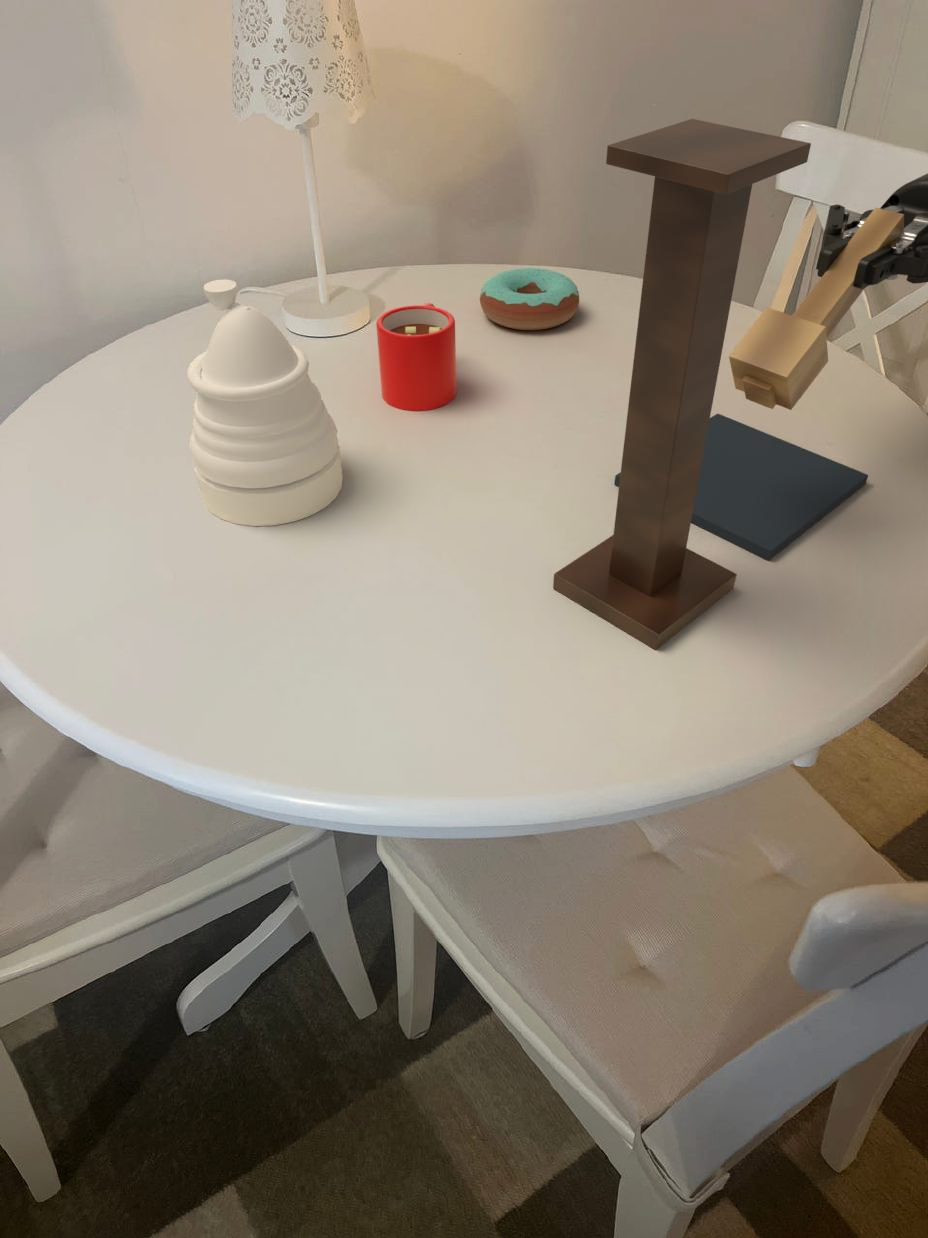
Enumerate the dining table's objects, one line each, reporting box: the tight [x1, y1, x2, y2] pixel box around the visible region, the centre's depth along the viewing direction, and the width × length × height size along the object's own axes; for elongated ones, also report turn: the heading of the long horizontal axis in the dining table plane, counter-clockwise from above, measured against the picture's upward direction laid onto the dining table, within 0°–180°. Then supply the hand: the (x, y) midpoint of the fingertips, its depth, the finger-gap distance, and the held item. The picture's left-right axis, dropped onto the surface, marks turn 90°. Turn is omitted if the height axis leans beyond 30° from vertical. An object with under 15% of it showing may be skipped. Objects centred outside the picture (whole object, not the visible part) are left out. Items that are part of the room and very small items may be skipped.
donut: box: [479, 267, 580, 331], centre depth 111 cm, size 12×12×4 cm
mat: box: [613, 413, 869, 562], centre depth 83 cm, size 16×16×1 cm
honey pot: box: [186, 279, 344, 527], centre depth 78 cm, size 13×13×18 cm
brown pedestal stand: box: [552, 118, 812, 651], centre depth 62 cm, size 10×10×32 cm
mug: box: [375, 302, 457, 412], centre depth 96 cm, size 8×12×8 cm, turn 172°
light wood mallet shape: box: [728, 207, 904, 411], centre depth 71 cm, size 5×18×4 cm, turn 134°
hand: (842, 269), depth 71 cm, fingers closed on light wood mallet shape, 2 cm apart
